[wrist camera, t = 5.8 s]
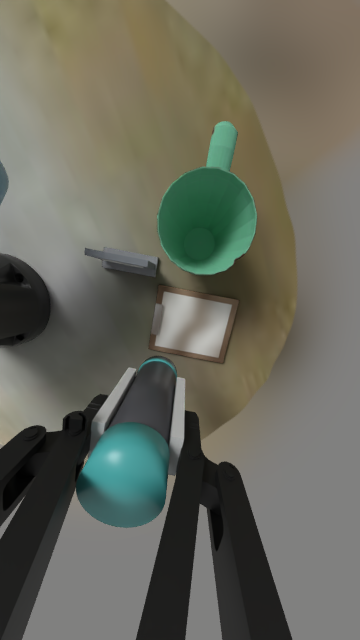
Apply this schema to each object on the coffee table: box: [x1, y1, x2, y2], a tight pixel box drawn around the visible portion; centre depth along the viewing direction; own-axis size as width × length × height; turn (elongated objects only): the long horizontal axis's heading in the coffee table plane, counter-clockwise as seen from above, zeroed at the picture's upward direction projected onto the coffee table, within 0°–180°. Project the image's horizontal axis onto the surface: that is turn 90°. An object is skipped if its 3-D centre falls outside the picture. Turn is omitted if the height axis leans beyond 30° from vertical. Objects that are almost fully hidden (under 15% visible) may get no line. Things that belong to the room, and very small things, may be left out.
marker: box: [76, 356, 177, 528], centre depth 14 cm, size 4×4×11 cm
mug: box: [157, 121, 257, 275], centre depth 22 cm, size 15×10×10 cm
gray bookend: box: [85, 247, 158, 277], centre depth 25 cm, size 8×3×6 cm, turn 79°
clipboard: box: [148, 285, 239, 363], centre depth 29 cm, size 13×11×1 cm
